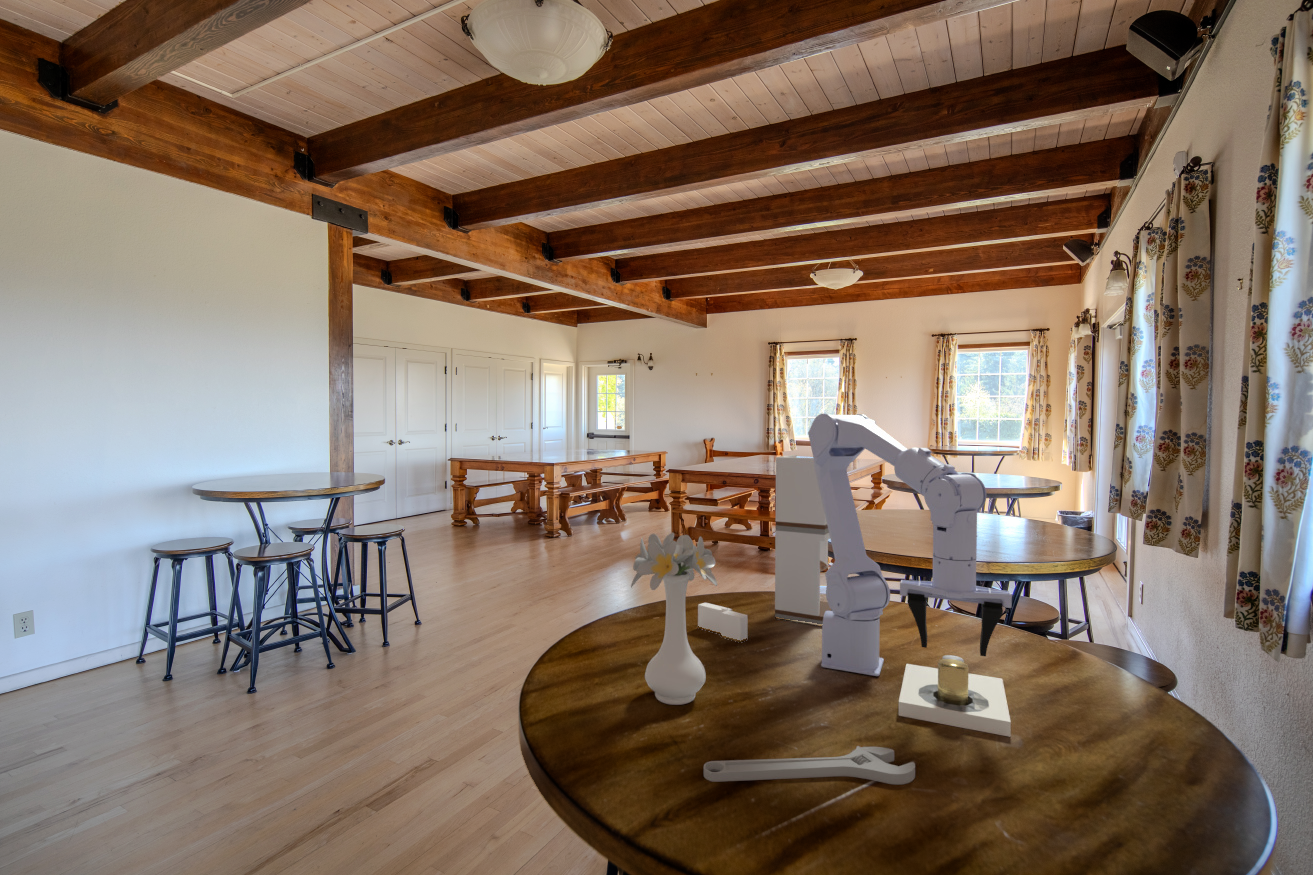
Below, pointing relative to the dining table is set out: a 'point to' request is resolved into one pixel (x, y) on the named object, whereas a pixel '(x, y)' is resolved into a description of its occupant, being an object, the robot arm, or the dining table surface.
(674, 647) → the flower vase
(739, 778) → the adjustable wrench
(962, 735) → the dining table surface
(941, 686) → the brass cylinder
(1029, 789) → the dining table surface
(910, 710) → the board
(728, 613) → the napkin holder
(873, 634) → the robot arm
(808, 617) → the white stacked column
